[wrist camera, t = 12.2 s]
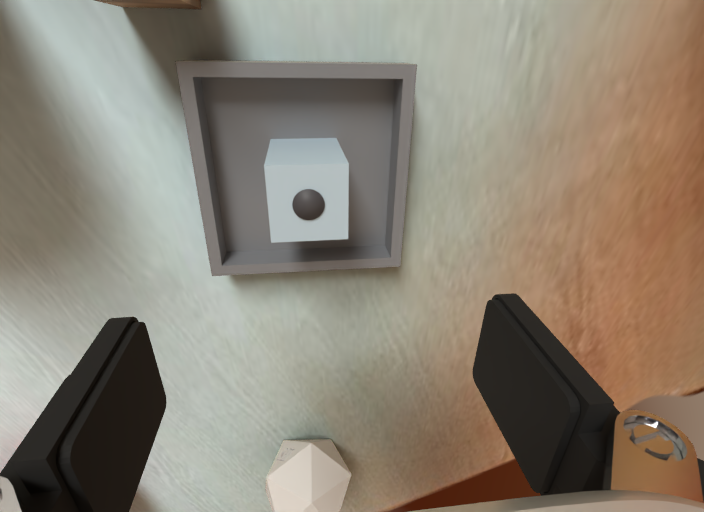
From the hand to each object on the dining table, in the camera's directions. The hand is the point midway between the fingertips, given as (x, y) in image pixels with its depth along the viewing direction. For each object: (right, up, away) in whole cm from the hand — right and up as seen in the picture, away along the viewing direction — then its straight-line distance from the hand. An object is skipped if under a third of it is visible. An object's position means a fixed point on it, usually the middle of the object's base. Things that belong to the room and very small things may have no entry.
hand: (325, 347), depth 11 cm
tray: (-3, +9, +18) cm, 20 cm away
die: (-4, -18, +32) cm, 38 cm away
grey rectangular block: (-3, +9, +17) cm, 20 cm away
